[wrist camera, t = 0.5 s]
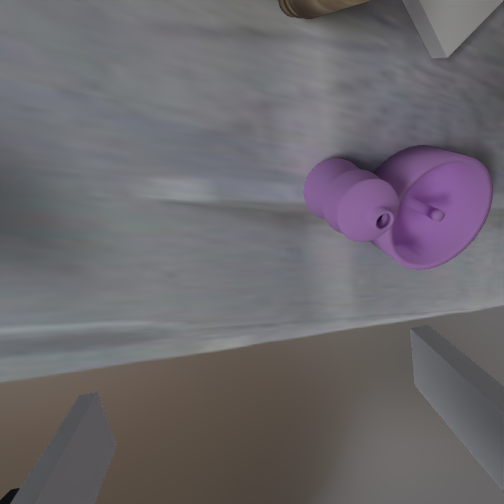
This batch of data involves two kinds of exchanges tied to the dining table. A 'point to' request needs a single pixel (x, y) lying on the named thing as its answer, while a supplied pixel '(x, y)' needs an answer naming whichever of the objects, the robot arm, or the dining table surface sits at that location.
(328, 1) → the oak peg
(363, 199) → the container set
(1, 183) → the dining table surface
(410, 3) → the hole board
